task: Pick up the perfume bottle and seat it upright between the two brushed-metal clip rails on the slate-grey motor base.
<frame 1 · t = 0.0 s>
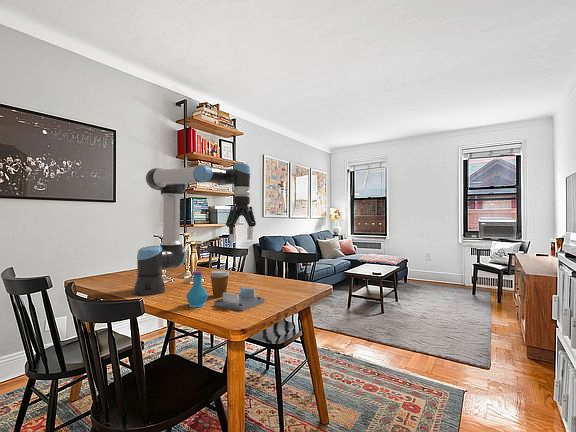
hand: (241, 240, 154), 28 cm above the table, fingers open, 13 cm apart
perfume bottle: (197, 305, 144), on the table
disposable coffee cup: (219, 296, 161), on the table
motor base: (239, 304, 146), on the table
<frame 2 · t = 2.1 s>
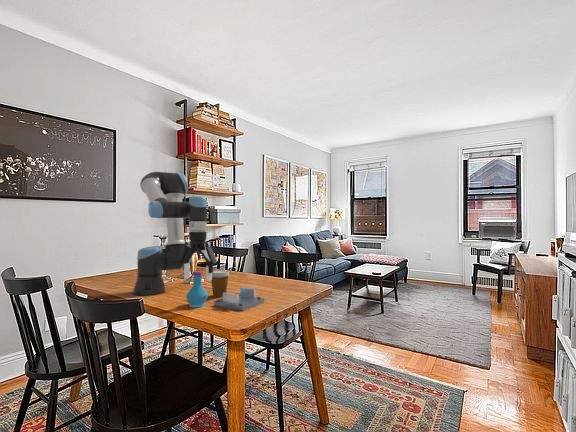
hand: (197, 279, 143), 12 cm above the table, fingers open, 13 cm apart
nothing on the table moved.
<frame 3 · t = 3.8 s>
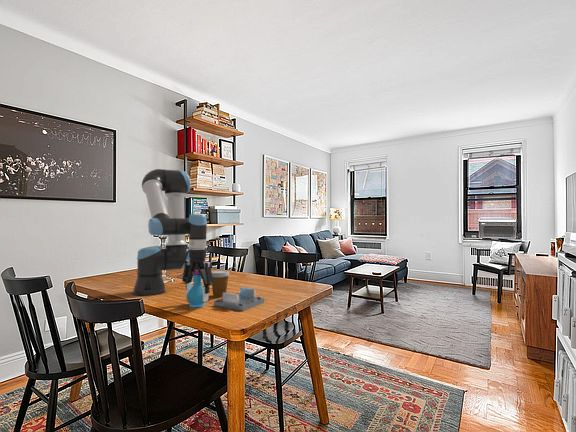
hand: (197, 299, 143), 3 cm above the table, fingers closed on perfume bottle, 9 cm apart
perfume bottle: (197, 305, 143), on the table, touching gripper
everything else where it was.
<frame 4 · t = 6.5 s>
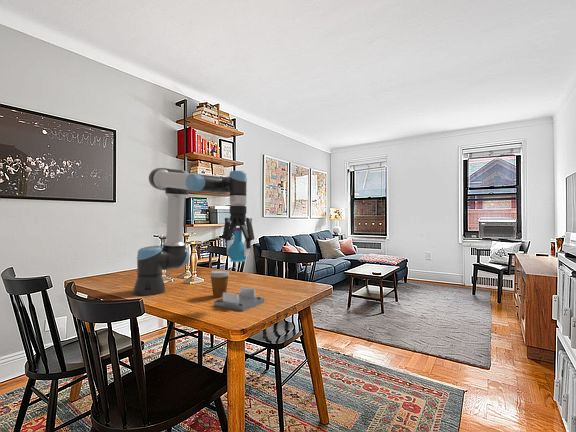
hand: (237, 255, 145), 22 cm above the table, fingers closed on perfume bottle, 9 cm apart
perfume bottle: (237, 261, 145), point 19 cm above the table, touching gripper
everything else where it was.
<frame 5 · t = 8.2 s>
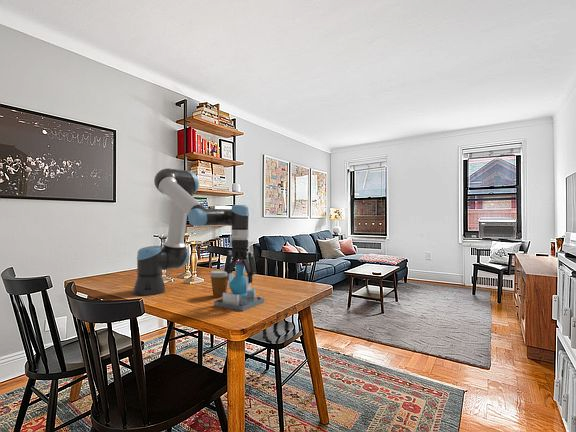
hand: (239, 288, 146), 7 cm above the table, fingers closed on perfume bottle, 9 cm apart
perfume bottle: (239, 294, 146), point 4 cm above the table, touching gripper
everything else where it was.
when the fingers open (5 cm above the table, at t = 9.4 s): perfume bottle stays where it is, resting on motor base.
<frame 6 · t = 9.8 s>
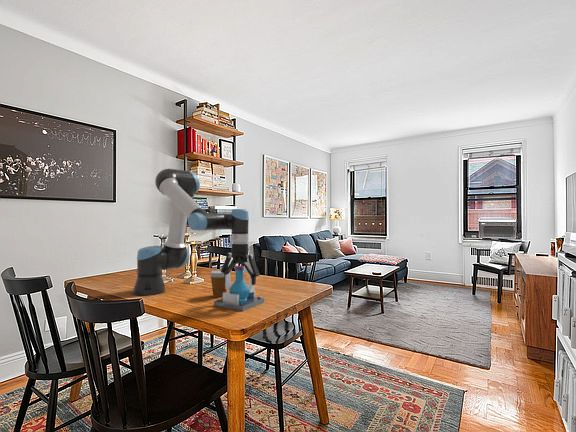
hand: (239, 290, 146), 6 cm above the table, fingers open, 13 cm apart
perfume bottle: (239, 300, 146), point 2 cm above the table, touching motor base
everything else where it was.
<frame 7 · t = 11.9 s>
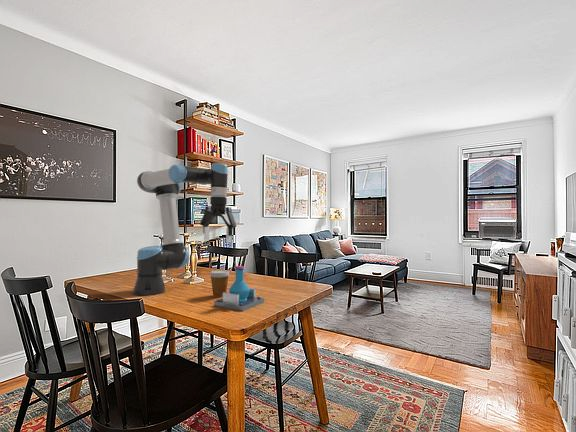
hand: (217, 241, 153), 28 cm above the table, fingers open, 13 cm apart
nothing on the table moved.
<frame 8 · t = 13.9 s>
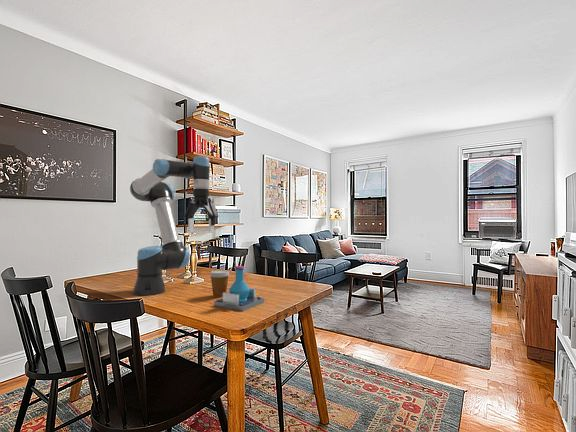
hand: (200, 232, 158), 32 cm above the table, fingers open, 13 cm apart
nothing on the table moved.
at the end: perfume bottle 0.1 cm off-centre on the motor base, point 1.8 cm above the motor base's base; perfume bottle touching motor base; perfume bottle tilted 0° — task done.
